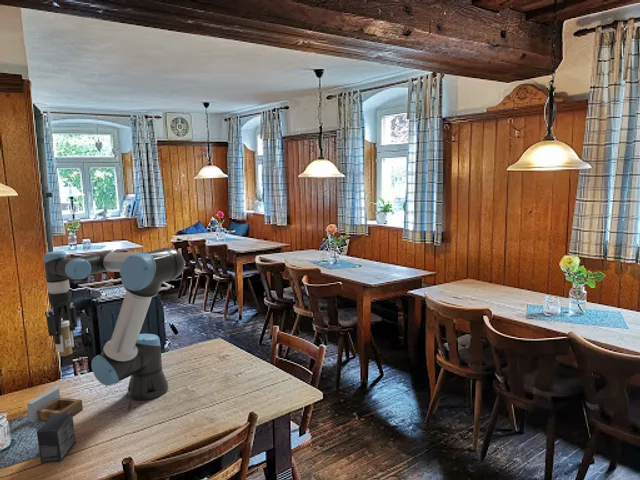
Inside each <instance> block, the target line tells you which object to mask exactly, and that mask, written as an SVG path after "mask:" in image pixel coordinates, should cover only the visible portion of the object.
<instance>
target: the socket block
mask: <svg viewBox="0 0 640 480" xmlns="http://www.w3.org/2000/svg"><path fill="white" fill-rule="evenodd" d="M83 406H84V405H83V400H82V399H76V398H69V397H68V398H67V397H61V396H60V397H59V398H57V399H56V400H54V401H52V402H51V403H49V404H47V405H46V406H44V407H42V408H41V409H39V410H37V415H38V420H37V422H42V423H45V422H46V421H47V420H48V419H49V418H50V417H51V416H52V415H53V414H61V413H72V415H73V417H75V416H76V415H78V414H80V412H83V410H84V407H83Z"/></svg>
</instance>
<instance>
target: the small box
mask: <svg viewBox="0 0 640 480" xmlns="http://www.w3.org/2000/svg"><path fill="white" fill-rule="evenodd" d="M43 423H44V424H42V425H41V427H40V428H39V429H38V430H37V431H36V437H37V444H38V450H39V458H40V459H39V460H40V463H41V464H44V463H45V464H46V463H57V462H58V463H59V462H62V461H63V460H64V459H65V458H66V456H67V455H68V454H69V452H70V451H71V450H72V448H73V446H75V444H76V443H77V438H76V432H75V425H74V423H75V422H74V416H73V415H72V413H61V414H53V415H52V416H51V417H50V418H49V419H48V420H47V421H46V422H43Z"/></svg>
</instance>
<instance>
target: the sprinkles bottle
mask: <svg viewBox="0 0 640 480" xmlns="http://www.w3.org/2000/svg"><path fill="white" fill-rule="evenodd" d="M60 335H62V336H63V345H64V352H59V356H61V357H66V356H69V355H71V354H73V347H72V346H71V337H70V329H69V321H68V320H64V319H63V320H62V319H61V334H60Z"/></svg>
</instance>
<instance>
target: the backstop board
mask: <svg viewBox="0 0 640 480" xmlns="http://www.w3.org/2000/svg"><path fill="white" fill-rule="evenodd" d="M59 397H61V395H60V388H58V387H53V388H52V389H50V390H48V391H46V392H45V393H43V394H42V395H39V396H38V397H36V398H34V399H32V400H30V401H29V402H27V403H26V405H27V414H28V420H29V423H35V422H38V415H37V410H39V409H41V408H42V407H44V406H46V405H47V404H49V403H51V402H52V401H54V400H56V399H57V398H59Z"/></svg>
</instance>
